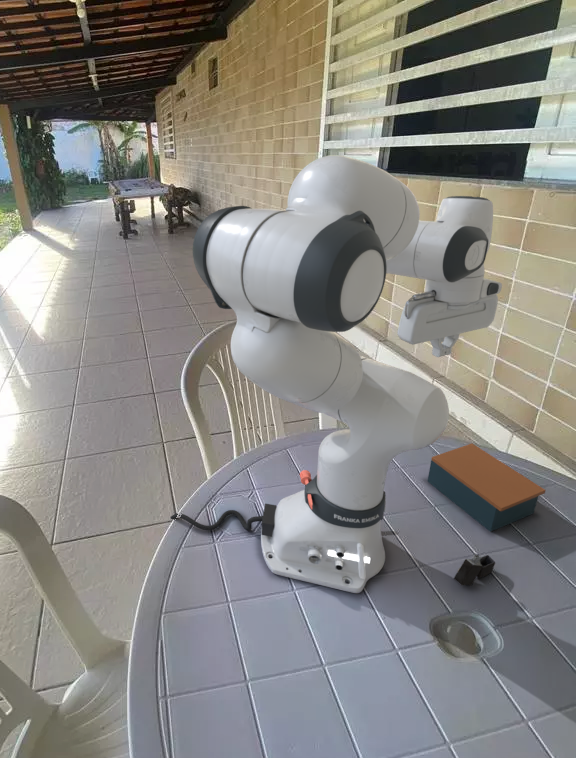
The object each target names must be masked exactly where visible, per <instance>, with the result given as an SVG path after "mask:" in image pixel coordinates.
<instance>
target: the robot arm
mask: <svg viewBox="0 0 576 758" xmlns="http://www.w3.org/2000/svg"><path fill="white" fill-rule="evenodd" d="M286 205H287V207H286V208H285V209H276V208H255V207H254V208H253V207H250V206H248V205H235V206H228V207H224V208H220V209H218V210H216V211H214V212H212V213H210V214H209V215H207V216H206V217H205V218H204V219H203V220H202V222H201V223H200V224H199V226H198V228H197V230H196V232H195V235H194V237H193V243H192V259H193V265H194V267H195V270H196V272H197V273H198V276H199V278H200V279H201V280H202V282H203V283H204V285H206V287H207V288H208V289H209V291H210V293H211V295H212V299H213V300H214V303H215V304H216V305H217V307H218V308H220V309H223V310H224V309H225V310H233V312H234V314H235V317H236V323H235V326H234V328H233V331H232V332H231V333H232V334H231V337H230V354H231V359H232V361H233V364H234V365H235V367H236V368H237V370H238V371H239V372H240V373H241V374H242V375H243V376H244V377H245V378H246V379H248V380H249V381H250V382H251V383H253V384H254V385H256V386H257V387H258V388H260V389H261V390H263V391H265V392H266V393H268V394H269V395H272V396H274V397H275V398H278V399H280V400H282V401H285V402H287V403H291V404H293V405H296V406H298V407H301V408H304V409H306V410H309V411H311V412H315V413H318V414H324V415H327V416H328V417H331V418H333V419H334V420H337V421H339V422H340V423H341V422H342V423H344V424H346V425H347V427H348V428H343V429H339V430H335V431H333V432H330V433H329V434H328V435H326V436H325V437H324V438H323V440H322V441H321V443H320V444H319V447H318V453H317V468H316V470H317V471H316V475H315V476H314V477H313V478H312V473H311V472H310V471H309V470H308V469H307V470H306V469H303V470H301V471H300V473H299V477H300V483H301V484H302V485H304V489H302V490H299V491H297V492H295V493H293V494H290V495H287V496H285V497H283V498H281V499H280V501H278V503H277V504H271V503H265V504H264V508H263V514H262V515H260V516H256V515H255V516H251V517H250V518H248V520H247V521H245V519H244V517H243V515H242V514H241V513H240V512H239V511H237V510H235V509H229V510H226V511H224V512H223V513H222V514H221V516H220V517H219V518H218V520H217V521H216V522H215V523H213V524H210V525H205V524H202V523H199V522H198V521H196V520H194V519H193V518H192V517H189V516H188V515H186V514H184V513H181V514H182V515H181V517H180V518H179V519H182V520H184V521H185V522H187V523H189V524H190V525H192V526H194V527H195V528H197V529H199V530H202V531H214V530H216V529H218V528H219V527H220V526H222V524H223V523H224V521H225V519H226V518H228V516H233V515H234V516H235V517H237V520H238V522H239V523H240V525H241V526H242V527H243V529H244V530H245V531H251V529H252V527H253V525H252V524H253V523H256V522H261V530H260V548H261V552H262V556H263V560H264V562H265V564H266V566H267V567H268V569H269V571H270V572H271V573H272V574H274V575H277V576H281V577H285V578H288V579H289V578H290V579H293V580H297V581H303V582H306V583H310V584H314V585H319V586H323V587H327V588H331V589H336V590H340V591H344V592H347V593H352V594H360V593H362V591H363V590H364V588H365V586H366V584H367V582H368V581H369V580H370V579H371V578H374V577H375V576H377V575H378V573H379V572H380V571H381V570H382V569H383V567H384V565H385V562H386V551H385V547H384V543H383V535H382V520H383V519H384V514H385V512H386V504H387V503H386V502H387V501H386V499H387V497H386V496H387V495H386V494H387V493H386V491H385V485H386V479H387V475H388V471H389V467H390V465H391V463H392V461H393V460H394V459H395V458H396V457H397V456H398V455H400V454H402V453H404V452H409V451H418V450H421V449H425V448H427V447H429V446H431V445H433V444H434V443H435V442H437V441H438V439H440V438H441V436H442V435H443V433H444V432H445V431H446V429H447V426H448V423H449V418H450V407H449V403H448V399H447V397H446V395H445V393H444V391H443V389H441V388H440V387H439V386H437V385H435V384H434V383H431V382H430V381H428V380H427V379H424V378H423V377H420V376H419V375H417V374H415V373H413V372H411V371H408V370H405V369H402V368H400V367H396V366H392V365H390V364H387V363H383V362H380V361H377V360H374V359H372V358H369V357H365V356H363V355H360V353H359V350H357V348H356V347H355V346H354V345H353V344H352V343H351V342H350V341H348V340H347V339H346V338H344V337H343V336H342V335H340V334H339V333H343V332H344V333H345V332H347V331H350V330H352V329H353V328H355V327H356V326H357V325H360V324H361V323H362V322H363V321H365V320H366V319H367V318H368V317H369V315H370V314H371V313H372V312H373V310H374V309H375V307H376V306H377V304H378V302H379V300H380V298H381V295H382V293H383V290H384V287H385V282H386V277H387V274H389V275H396V276H400V277H401V276H402V277H407V278H413V279H419V280H425V285H424V292H420V293H414V294H413V295H411V297H410V298H409V299H408V300H407V301H405V303H404V306H403V308H402V311H401V315H400V319H399V323H398V328H397V336H398V338H399V340H401V341H403V342H405V343H407V344H410V345H412V346H413V345H418V344H422V343H426V342H430V344H431V346H432V351H431V354H432V356H434V357H436V358H442V357H445V356H449V355H451V354H452V349H453V347H454V346H455V344H456V343H457V341H458V340H459V337H460V334H464V333H468V332H473V331H476V330H482V329H487V328H489V327H490V326H491V324H492V323H493V322H494V320H495V317H496V313H497V308H498V303H499V296H498V295H499V294H500V293H501V292H502V288H503V283H502V282H500V281H498V280H494V279H490V278H486V277H485V273H486V271H485V262H486V259H487V255H488V252H489V250H490V246H491V242H492V241H491V240H492V234H493V226H494V204H493V201H492V200H490V199H489V198H487V197H482V196H470V195H452V196H447V197H445V198H442V200H441V202H440V205H439V208H438V211H437V215H436V219H435V220H421V219H420V217H421V216H420V215H421V211H420V205H419V202H418V200H417V197H416V195H415V194H414V192H413V191H412V190H411V189H410V187H409V186H407V185H406V184H405V183H404V182H402V181H401V180H400V179H398V178H397V177H395V176H394V175H392V174H391V173H389V172H388V171H386V170H384V169H382V168H380V167H378V166H376V165H374V164H372V163H369V162H367V161H364V160H361V159H357V158H354V157H350V156H345V155H341V154H338V155H337V154H330V155H325V156H322V157H319V158H316V159H314V160H313V161H311V162H309V163H308V164H307V165H305V166H304V167H303V168H302V169H301V170H300V171H299V172H298V174H297V175H296V176H295V178H294V179H293V181H292V184H291V186H290V187H289V191H288V195H287V204H286ZM178 513H179V512H177V513H174V514H172V515H171V516H170V519H171V520H175V519H177V518H176V517H177V515H178ZM179 516H180V515H179Z"/></svg>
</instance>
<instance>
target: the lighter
mask: <svg viewBox="0 0 576 758" xmlns="http://www.w3.org/2000/svg"><path fill="white" fill-rule="evenodd" d="M495 564H496V561H495V560H494V559H493V558H492V557H491V555H489V554H486V555H484V556H480V555H479V554H477V553H475V554H474V555H473V556H472V557H471V558H466V559H464V560H463V562H462V564H461V566H460V567H459V568H458V569H457V572H456V574H455V576H454V577H453V579H454V580H455V581H456V582H457V583H458V584H459V585H461V586H472V585H473V583H474V582H475V580H476V579H477V578H478V579H482V578H484V577H487V576H489V575H490V574H491V573H492V572H493V570H494V567H495Z"/></svg>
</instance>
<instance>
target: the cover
mask: <svg viewBox="0 0 576 758" xmlns="http://www.w3.org/2000/svg"><path fill="white" fill-rule="evenodd" d="M431 460H432V461H434V462H435V463H436V464H438V465H439V466H440V467H442V468H443V469H444V470H446V471H447V472H448V473H450V474H451V475H452V476H454V477H455V478H456V479H458V480H459V481H460V482H462V483H463V484H464V485H466V486H467V487H468V488H470V489H471V490H473V491H474V492H475V493H477V494H478V495H479V496H481V497H482V498H483V499H485V500H486V501H487V502H489V503H490V504H491V505H493V506H494V507H495V508H497V509H498V510H499V511H503V510H506V509H508V508H510V507H513V506H515V505H518V504H520V503H523V502H525V501H527V500H530V499H532V498H535V497H537V496H541V495H544V494H546V489H545V488H543V487H542V486H540V485H538V484H537V483H535V482H533V481H532V480H530V478H527V477H526V476H524V475H523V474H522V473H519V472H518V471H517V470H515V469H513V468H511V467H510V466H508V465H507V464H506V463H504V462H503V461H501V460H499V459H497V458H496V457H494V456H493V455H492V454H490V453H488V452H487V451H485V450H483V449H482V448H480V447H479V446H477V445H475V444H474V443H473V442H471V443H469V444H466V445H462V446H460V447H456V448H454V449H451V450H448V451H446V452H445V451H444V452H442V453H440V454H436V455H433V456H431V458H430V461H431Z"/></svg>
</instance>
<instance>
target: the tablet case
mask: <svg viewBox="0 0 576 758" xmlns="http://www.w3.org/2000/svg"><path fill="white" fill-rule="evenodd" d="M427 482H428V483H429V484H430V486H431V485H432V486H433V487H434V488H435V489H436V490H438V491H439V493H441V494H443V495H444V496H445V497H447V499H448V500H450V501H451V502H453V504H455V505H456V506H457V507H459V508H460V509H461V510H463V511H464V512H465V513H466V514H467V515H469V516H470V517H471V518H472V519H474V520H475V521H476V522H477V523H479V524H480V525H481V526H483V528H485V529H486V530H488V532H494V531H496V530H498V529H501V528H503V527H505V526H507V525H511V524H512V523H514V522H517V521H519V520H521V519H524V518H527V517H529V516H530V515H533V514H534V513H535V510H536V507H537V503H538V500H539V496H540V495H539V496H537V497H535V498H532V499H530V500H527V501H525V502H523V503H520V504H518V505H515V506H513V507H510V508H508V509H506V510H503V511H499V510H498V509H497V508H495V507H494V506H493V505H491V504H490V503H489V502H487V501H486V500H485V499H483V498H482V497H481V496H479V495H478V494H477V493H475V492H474V491H473V490H471V489H470V488H468V487H467V486H466V485H464V484H463V483H462V482H460V481H459V480H458V479H456V478H455V477H454V476H452V475H451V474H450V473H448V472H447V471H446V470H444V469H443V468H442V467H440V466H439V465H438V464H436V463H435V462H434V461H432V460H431V459H430V466H429V469H428V476H427Z"/></svg>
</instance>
